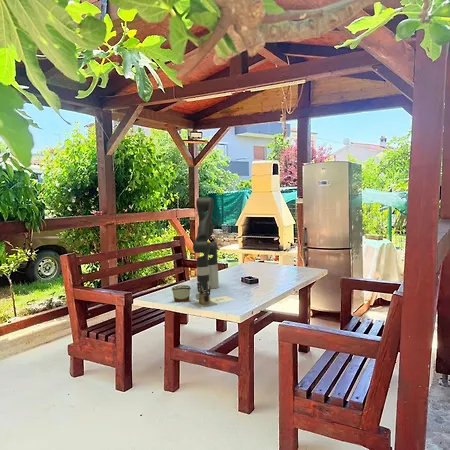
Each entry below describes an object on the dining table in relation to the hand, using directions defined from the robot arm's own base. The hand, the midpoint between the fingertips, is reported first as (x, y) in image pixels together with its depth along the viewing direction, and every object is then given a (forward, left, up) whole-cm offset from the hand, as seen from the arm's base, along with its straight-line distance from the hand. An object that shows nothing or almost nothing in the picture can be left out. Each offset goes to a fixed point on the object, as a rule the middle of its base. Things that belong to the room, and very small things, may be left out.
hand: (204, 300), depth 238 cm
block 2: (0, 0, -2) cm, 2 cm away
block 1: (-12, +3, -2) cm, 13 cm away
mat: (0, 0, -3) cm, 3 cm away
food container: (-16, -8, -3) cm, 18 cm away
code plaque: (-3, +12, -3) cm, 13 cm away
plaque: (-12, +3, -3) cm, 13 cm away
